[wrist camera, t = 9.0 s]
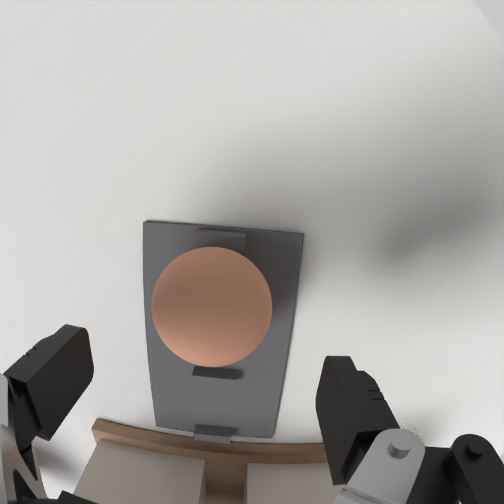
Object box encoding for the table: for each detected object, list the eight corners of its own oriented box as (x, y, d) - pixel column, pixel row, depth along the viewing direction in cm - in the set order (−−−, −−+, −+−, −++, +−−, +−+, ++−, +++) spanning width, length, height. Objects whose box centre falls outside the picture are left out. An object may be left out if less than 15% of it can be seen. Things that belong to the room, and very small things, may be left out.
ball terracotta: (169, 232, 15) (131, 260, 10) (274, 240, 15) (284, 273, 10) (169, 325, 17) (140, 382, 12) (264, 334, 17) (268, 396, 12)
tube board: (97, 418, 19) (91, 428, 18) (362, 440, 19) (366, 451, 18) (120, 485, 22) (117, 494, 20) (330, 502, 22) (332, 512, 21)
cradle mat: (145, 221, 15) (136, 225, 14) (302, 233, 16) (306, 238, 14) (157, 423, 19) (153, 434, 18) (271, 435, 19) (272, 447, 18)
